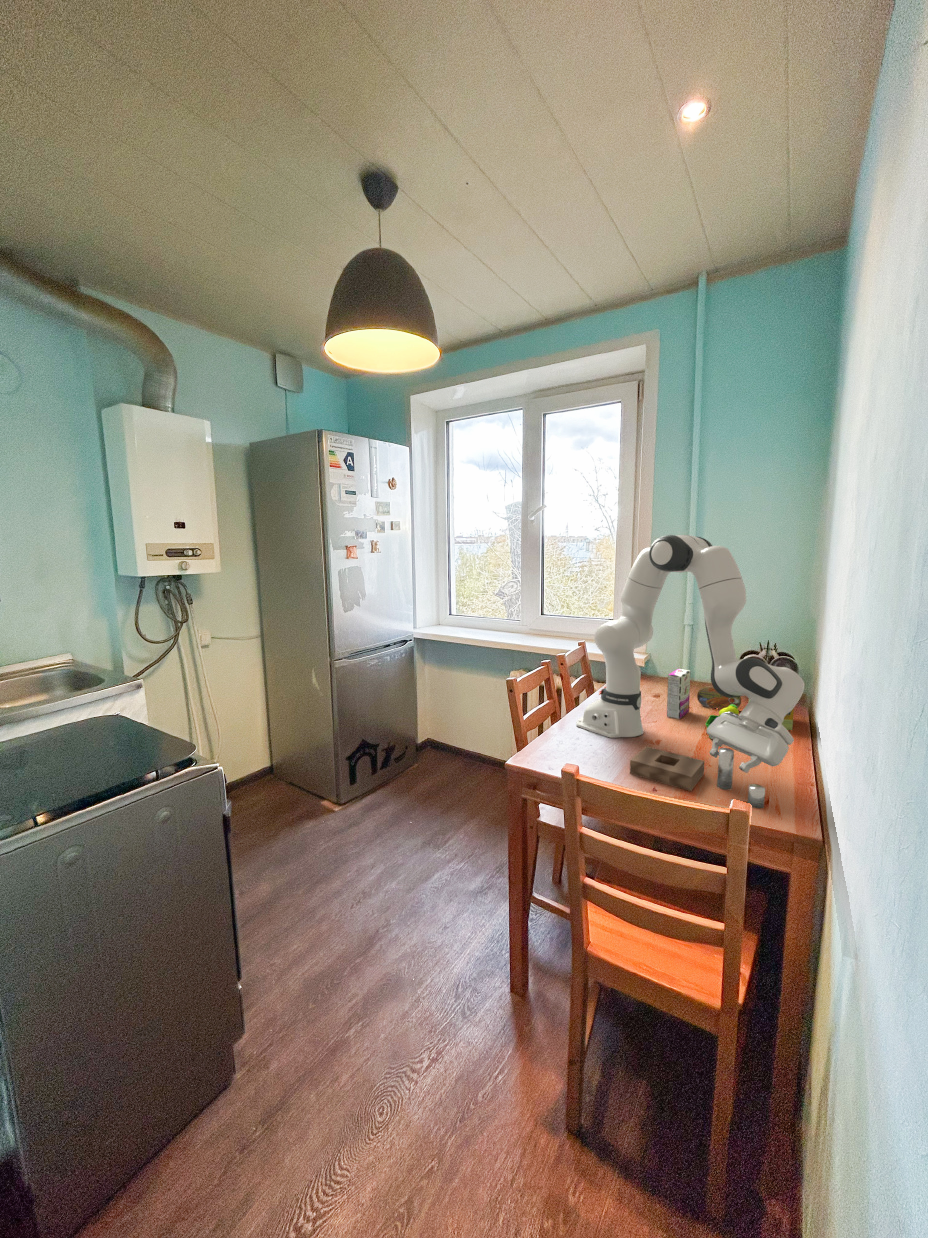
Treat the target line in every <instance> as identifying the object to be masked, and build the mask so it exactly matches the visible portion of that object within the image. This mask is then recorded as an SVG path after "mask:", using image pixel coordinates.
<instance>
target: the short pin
mask: <svg viewBox="0 0 928 1238" xmlns="http://www.w3.org/2000/svg"><path fill="white" fill-rule="evenodd" d="M765 795H766V788H765V787H764V785H760V784H755V783H751V784H749V785H748V793H747V804H748V803H750V804H751V805H752V807H751V808H754V809H758V810H759V809H764V808H765V797H766V796H765Z"/></svg>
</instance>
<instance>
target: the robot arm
mask: <svg viewBox="0 0 928 1238" xmlns="http://www.w3.org/2000/svg"><path fill="white" fill-rule="evenodd" d="M671 572H672V573H679V574H682V573H688V572H689V573H691V574H692V575H693V577H694V578H695V580H696V585H697V588H698V590H699V591H698V592H699V596H700V599H701V604H702V607H703V614H704V616H703V617H704V625H705V632H706V638H707V641H708V647H709V652H710V658H711V671H710V682H711V686H712V687H714V689H715V690H716V691H717V692H718V693H719V694H721V695H722V696H725V697H728V698H735V697H739V696H740V697H743V696H745V697H746V698H748V703H747V704H746V705H745V706H744V708H743V709H742V710H741V712H739V713H738V714H735V713H733V712H725V713H722V714H721V715H720V716H719V715H718V716H719V717H718V718H716V719H715V720H714V721H713V722H712V723H711V724H710V726H709V727H708V728H707V727H706V734H707V736H708V738H709V737H710V738H711V740H712V744H711V747H712V748H711V749H710V751H709V752H708V753H709V755H710V756H711V757H713V758H715V759H716V758H719V749H720V748H722V746H723V745H724V746H726V747H728V748H729V749H732V750H735V751H737V752H739V753H741V754H743V755H746V756H748V757H750V760H748V761H746V762H744V761H742V762H741V763H740V765H739V766H738V769H739V770H740V771H741V772H743V773H745V774H746V773H749V771H750V770H751V769H753V768H755V767H758V766H760V764H761V763H764V764H766V765H768V766H770V767H777V766H779V765H780V764H781V763H782V762H783V760H784V758H785V757H786V756H787V754H788V751H789V745H790V746H791V745H792V744H793V743H794V741H795V740H794V737H793V735H792V734H791V733H790V731H788V730H787V729H786V728H785V727H784V726H783V725H782V722H783V720H784V717H785V716H786V715H787V714H788V713H789V712H791V711H792V709H793V708H794V709H795V706H797V704H798V702H799V700H800V699H801V697H802V696H803V693H804V691H805V682H804V680H803V678H802V677H801V676H800V675H799V673H797V672H796V671H794V670H792V669H791V668H788V667H787V666H786V667H785V666H776V665H771V664H768V663H767V662H764V661H763V660H762V659H759V658H755V657H748V658H743V659H738V658H737V655H736V650H735V645H734V640H733V635H732V627H733V625H734V622H735V620H736V618H737V617H738V615H739V614H740V613H741V612H742V610H743V609H744V607H745V605H746V602H747V591H746V587H745V583H744V580H743V577H742V574H741V571H740V568H739V566H738V564H737V562H736V560H735V557H734V556H733V554H732V553H731V551H730V549H728V548H727V547H725V546H722V545H713V544H712V543H711V542H710V541H709V540H707V539H706V538H704V537H701V536H695V535H690V534H680V535H679V534H677V535H676V534H669V535H668V534H667V535H663V536H660V537H658V538H656V539H655V540H653V542H652V544H651V545H650V547H646V548H644V549H642V550H641V551H640V552H639V554H638V555H637V557H636V559H635V561H634V562H633V564H632V567H631V569H630V571H629V574H628V576H627V577H626V578H627V579H626V581H625V584H624V586H623V589H622V592H621V593H620V599H619V600H620V602H621V603H622V605H621V607H622V608H621V613H620V617H619V618H618V619H613V620H608V621H607V622H605V623H603V624H601V625H600V626H598V628H596V629H595V633H594V639H593V640H594V644H595V645H596V647H597V648H598V650H600V652H601V653H602V656H603V659H604V662H605V663H604V664H605V673H606V674H605V675H606V676H605V680H606V681H605V684H606V685H605V686H604V687H603V688H602V689H600V691H599V692H598V696H599V695H600V697H599V698H598V699H596V700H595V701H593V702H591V703H590V704H588V705H587V706H586V707H585V709H584V712H583V715H582V716H581V717H580V718H578V719H577V721H576V725H575V726H576V727H578V728H580V729H584V730H586V731H587V730H588V731H589V732H592V733H595V734H599V735H602V736H604V737H607V738H610V739H615V738H634V737H638V736H641V735H643V734H644V732H645V731H644V730H645V729H644V727H643V724H642V717H641V706H642V691H641V672H642V671H641V667H640V666H639V665H638V664H637V662H636V659H635V653H634V651H635V649H638V648H641V647H644V646H645V645H646V644H647V643H649V642H650V641H651V639H652V638H653V635H654V628H653V625H652V624H653V623H652V622H653V615H654V610H655V607H656V604H657V602H658V599H659V597H660V595H661V591H662V589H663V586H664V584H665V582H666V579H667V577H668V576H669V575H670V573H671ZM710 738H709V739H710Z"/></svg>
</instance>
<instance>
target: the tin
mask: <svg viewBox="0 0 928 1238" xmlns="http://www.w3.org/2000/svg"><path fill="white" fill-rule="evenodd" d="M696 698H697V701H698V703H699V704H700V705H701V706H703V707H704V708H707V709H713V708H718V709H717V710H720V709H723V708H727V707H728V706H729V705H731V704H733V705H736V706H737V707H738V708H739V707H741V704H742V696H739V697H735V698H728V697H725V696H722V695H721V694H719V693H718V692H717V691H716V690H715V689H714V687H713V685H711V686H709V685H708V686H703V687H702V688H700V689H699V690H698V692H697V694H696Z"/></svg>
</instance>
